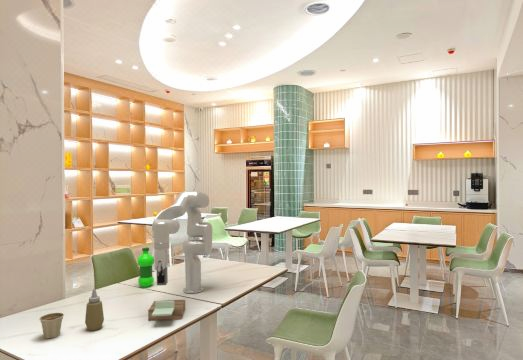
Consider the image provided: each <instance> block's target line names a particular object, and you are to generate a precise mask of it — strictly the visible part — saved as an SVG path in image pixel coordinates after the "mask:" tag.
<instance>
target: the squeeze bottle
mask: <svg viewBox="0 0 523 360" xmlns="http://www.w3.org/2000/svg"><path fill="white" fill-rule="evenodd" d="M84 318H85V320H84V323H85V326H86V328H87V330H88V331H97V330H100V329H102V327H103V324H104V321H105V317H104V308H103V302H102V300H101V297H100V295H98V294H97V289H95V288H94V289H92V293H91V296H90V297H89V298H88V302H87V303H86V309H85V317H84Z"/></svg>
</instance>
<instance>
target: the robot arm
mask: <svg viewBox="0 0 523 360" xmlns="http://www.w3.org/2000/svg"><path fill="white" fill-rule="evenodd" d="M209 204H210V197H209V195H208V194H206V193H205V192H201V191H197V190H185V191H183V190H182V191H181V192H179V193H178V194H177V196H176V198H175V199H174V201H173V203H172V204H171V205H170V206H168V207H167V208H165V209H163V210H161V211H160V212H159V213H157V215H156V216H155V218H154V219H153V221H152V225H151V229H152V232H153V250H154V270H156V271H157V268H158V283H164V282H165V280H164V269H165V268H166V267H168V265H169V264H168V263H169V251H168V250H169V249H170V235H172V234H173V235H174V234H177V233H178V232H179V231H180V228H181V226H180V222H179V221H178V220H177V219H178V218H180V217H183V216H184V215H185V213H187V223H186V224H187V225H186V234H187V236H188V237H189V238H203V239H188V240H186V241H184V242H183V252H184V253H183V254H184V259H185V261H184V265H185V266H184V267H185V269H184V270H185V287H184V288H182V292H183V293H185V294H199V293H201V292H203V291H204V289H205V288H204V287H203V286H202V261H201V259H200V257H199V256H209V255H211V253H212V250H213V225H212V224H211V222H208V221H206V222H205V221H203V222H202V213H201V211H200V209H199V208H207V207H208V206H209ZM161 268H162V269H161ZM161 270H162V271H161Z"/></svg>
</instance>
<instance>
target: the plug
mask: <svg viewBox="0 0 523 360" xmlns="http://www.w3.org/2000/svg"><path fill="white" fill-rule="evenodd" d="M161 269H162V268H161ZM161 271H162V270H161ZM164 280H165V282H164V283H158V268H157V269H156V286H166V285H167V284H168V282H169V281H168V280H169V279H168V266H166V268H165V269H164Z"/></svg>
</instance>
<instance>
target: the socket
mask: <svg viewBox="0 0 523 360" xmlns="http://www.w3.org/2000/svg"><path fill="white" fill-rule="evenodd" d="M158 301H159V300H154V301H153V303H152V304H151V305H150V307H149V309H148V310H147V314H148V316H147V317H148V319H147V320H148V321H149V322H151V321H170V320H172V321H173V320H182V319H183V316H184V313H185V311H186V299H168V300H167V299H165V300H164V299H163V301H174V311H173V313H172V315H168V316H152V313H153V312H154V310H155V302H158Z"/></svg>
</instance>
